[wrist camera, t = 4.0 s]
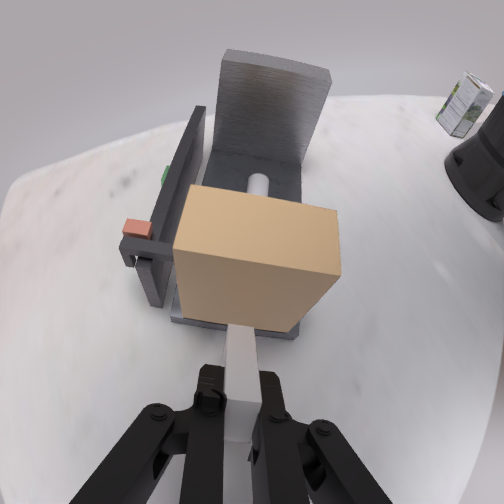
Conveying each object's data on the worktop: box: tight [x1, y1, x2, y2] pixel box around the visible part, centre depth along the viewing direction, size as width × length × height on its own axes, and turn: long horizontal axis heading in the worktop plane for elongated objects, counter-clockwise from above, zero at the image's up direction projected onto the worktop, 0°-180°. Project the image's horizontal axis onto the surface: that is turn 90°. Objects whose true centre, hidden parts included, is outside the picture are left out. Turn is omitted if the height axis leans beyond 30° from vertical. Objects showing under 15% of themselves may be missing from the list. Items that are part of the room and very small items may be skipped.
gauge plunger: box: [119, 173, 341, 333], centre depth 21 cm, size 10×12×10 cm
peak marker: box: [122, 218, 153, 240], centre depth 19 cm, size 1×2×3 cm, turn 85°
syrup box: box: [436, 71, 494, 138], centre depth 46 cm, size 6×6×14 cm
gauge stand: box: [135, 49, 332, 340], centre depth 24 cm, size 22×12×12 cm, turn 174°
